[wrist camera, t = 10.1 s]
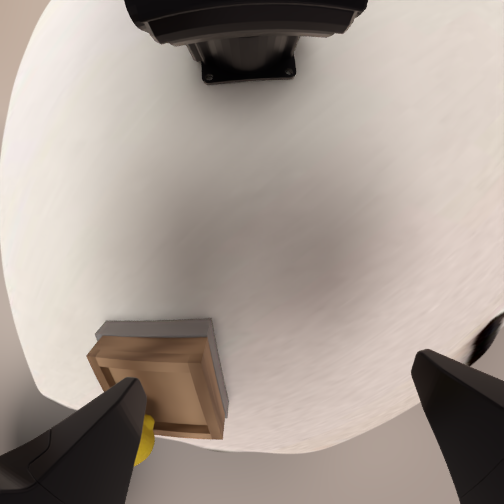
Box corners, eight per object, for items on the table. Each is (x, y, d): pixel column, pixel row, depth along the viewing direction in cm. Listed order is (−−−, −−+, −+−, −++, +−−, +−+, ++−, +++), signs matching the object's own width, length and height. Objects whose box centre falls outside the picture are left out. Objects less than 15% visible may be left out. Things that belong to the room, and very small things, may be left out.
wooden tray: (207, 337, 19) (201, 362, 16) (225, 414, 22) (222, 439, 19) (102, 335, 19) (86, 355, 16) (135, 409, 22) (126, 430, 19)
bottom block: (212, 314, 22) (207, 334, 19) (229, 396, 25) (227, 418, 22) (109, 317, 22) (94, 334, 19) (140, 394, 25) (132, 412, 22)
